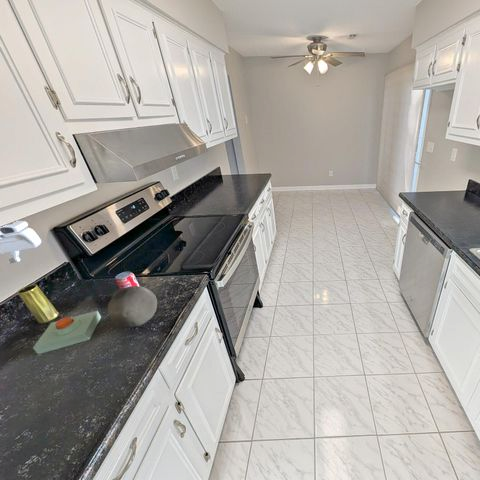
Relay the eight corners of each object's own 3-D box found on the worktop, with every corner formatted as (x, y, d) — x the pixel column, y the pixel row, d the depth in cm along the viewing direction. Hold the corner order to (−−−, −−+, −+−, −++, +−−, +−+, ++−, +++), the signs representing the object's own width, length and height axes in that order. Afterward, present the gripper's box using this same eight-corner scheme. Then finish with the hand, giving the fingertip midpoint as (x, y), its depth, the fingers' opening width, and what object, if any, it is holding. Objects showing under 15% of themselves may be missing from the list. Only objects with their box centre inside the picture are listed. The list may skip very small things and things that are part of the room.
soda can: (125, 305, 103) (112, 281, 97) (127, 297, 107) (114, 273, 102) (143, 299, 105) (131, 275, 100) (144, 291, 110) (132, 268, 105)
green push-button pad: (38, 354, 83) (29, 343, 81) (56, 328, 93) (48, 318, 91) (89, 339, 88) (82, 329, 85) (101, 316, 98) (95, 307, 95)
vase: (40, 325, 95) (17, 296, 89) (35, 320, 98) (13, 291, 92) (61, 315, 100) (40, 286, 93) (56, 310, 103) (35, 281, 96)
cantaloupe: (114, 325, 93) (95, 293, 86) (156, 304, 102) (142, 273, 95) (125, 345, 84) (105, 311, 77) (169, 320, 93) (155, 288, 87)
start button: (55, 330, 86) (52, 327, 85) (61, 322, 89) (58, 319, 88) (69, 326, 87) (67, 323, 86) (74, 319, 91) (72, 315, 90)
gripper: (-57, 239, 85) (-28, 273, 91) (21, 226, 91) (43, 259, 97) (-42, 232, 90) (-16, 264, 96) (31, 220, 96) (51, 252, 103)
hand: (14, 262), depth 97 cm, fingers closed
